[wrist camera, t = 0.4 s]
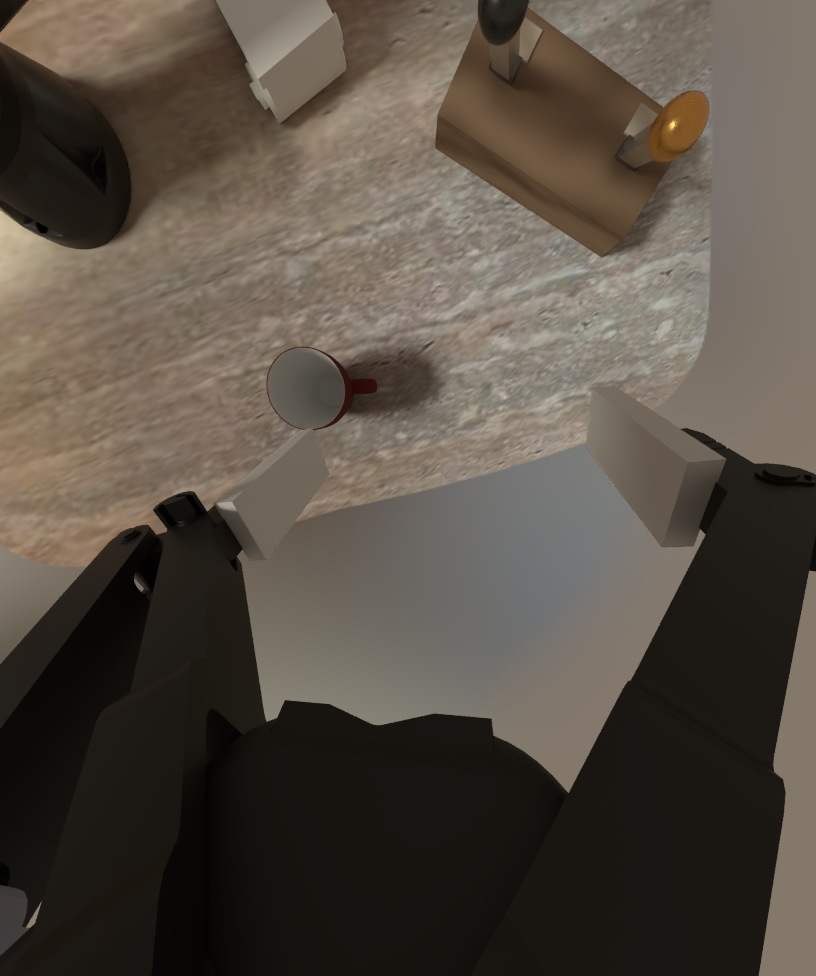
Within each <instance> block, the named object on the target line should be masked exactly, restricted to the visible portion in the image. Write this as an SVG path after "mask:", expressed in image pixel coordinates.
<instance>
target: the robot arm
mask: <svg viewBox="0 0 816 976" xmlns="http://www.w3.org/2000/svg"><path fill="white" fill-rule="evenodd" d="M28 1H29V0H0V32H1V31H2V30H3V29H4V28H5V26H6V25H7V24H8V23H9V22H10V21H11V20H12V19H13V17H14V16H15V15H16V14H17V13H18V12H19V11H20V10H21V8H22V7H23V6H24V5H25V4H26V3H27V2H28ZM129 201H130V177H129V170H128V165H127V161H126V158H125V155H124V152H123V149H122V146H121V144H120V142H119V140H118V138H117V136H116V134H115V132H114V130H113V129H112V127H111V126H110V124H109V123H108V121H107V120H106V118H105V117H104V116H103V115H102V113H101V112H100V111H99V110H98V109H97V108H96V107H95V106H94V105H93V104H92V103H91V102H90V101H89V100H88V99H87V98H85V97H84V96H83V95H82V94H81V93H80V92H79V91H78V90H77V89H76V88H75V87H73V86H72V85H71V84H70V83H69V82H68V81H66V80H65V79H63V78H62V77H61V76H59V75H58V74H56V73H55V72H53V71H52V70H50V69H48V68H46V67H44V66H43V65H41V64H39V63H37V62H36V61H34V60H32V59H30V58H28V57H27V56H25V55H23V54H21V53H19V52H18V51H16V50H14V49H12V48H10V47H9V46H7V45H5V44H3V43H1V42H0V210H1V211H2V212H4V213H5V214H6V215H8V216H9V217H10V218H12V219H13V220H14V221H16V222H17V223H18V224H20V225H21V226H23V227H24V228H26V229H28V230H29V231H31V232H33V233H35V234H37V235H39V236H41V237H43V238H46V239H48V240H50V241H52V242H55V243H57V244H59V245H62V246H65V247H69V248H75V249H87V248H93V247H96V246H99V245H101V244H103V243H105V242H106V241H108V240H109V239H111V238H112V237H113V236H114V235H115V234H116V232H117V231H118V230H119V228H120V227H121V225H122V223H123V221H124V219H125V217H126V214H127V211H128V207H129ZM586 449H587V450H588V451H589V453H590V454H591V455H592V457H593V458H594V459H595V460H596V462H597V463H598V464H599V466H600V467H601V468H602V470H603V471H604V472H605V473H606V475H607V476H608V478H609V479H610V480H611V481H612V483H613V484H614V485H615V487H616V488H617V489H618V491H619V492H620V493H621V495H622V496H623V497H624V498H625V500H626V501H627V502H628V504H629V505H630V506H631V508H632V509H633V510H634V512H635V513H636V514H637V515H638V517H639V518H640V519H641V520H642V522H643V523H644V525H645V526H646V527H647V528H648V530H649V531H650V532H651V534H652V535H653V536H654V538H655V539H656V540H657V542H658V543H659V544H660V546H661V547H685V546H694V544H695V541H696V538H697V536H698V533H699V530H700V529H701V530H702V531H703V532H704V533H705V534H706V535H705V538H704V539H703V541H702V543H701V545H700V547H699V549H698V551H697V553H696V555H695V557H694V559H693V561H692V563H691V565H690V567H689V568H688V571H687V572H686V574H685V576H684V578H683V580H682V582H681V584H680V586H679V588H678V590H677V592H676V594H675V596H674V598H673V600H672V602H671V604H670V606H669V608H668V610H667V611H666V613H665V615H664V617H663V619H662V621H661V623H660V625H659V627H658V629H657V631H656V633H655V635H654V637H653V639H652V641H651V643H650V645H649V647H648V649H647V651H646V652H645V655H644V657H643V658H642V660H641V662H640V664H639V666H638V668H637V670H636V672H635V674H634V676H633V678H632V679H631V681H628V682H627V684H626V685H625V687H624V688H623V690H622V692H621V694H620V696H619V698H618V699H617V701H616V703H615V705H614V707H613V709H612V711H611V713H610V715H609V717H608V718H607V720H606V722H605V724H604V726H603V728H602V730H601V732H600V734H599V736H598V738H597V740H596V742H595V744H594V745H593V748H592V749H591V751H590V753H589V756H588V757H587V759H586V761H585V763H584V765H583V767H582V769H581V771H580V773H579V774H578V776H577V778H576V780H575V782H574V784H573V786H572V788H571V790H570V792H569V793H568V792H567V791H566V790H565V789H564V788H563V787H562V786H561V784H560V783H559V782H558V781H557V780H556V779H555V778H554V777H553V776H552V775H551V774H550V773H549V772H548V771H547V770H546V769H545V768H544V767H543V766H542V765H540V763H538V762H537V761H536V760H535V759H533V758H532V757H530V756H529V755H528V754H526V753H525V752H524V751H522V750H520V749H519V748H517V747H515V746H514V745H512V744H510V743H509V742H507V741H504V740H502V739H500V738H497V737H495V736H493V727H492V719H488V718H477V717H466V716H455V715H443V714H430V715H426V716H421V717H417V718H412V719H407V720H403V721H399V722H394V723H389V724H384V725H373V724H370V723H368V722H366V721H364V720H362V719H360V718H358V717H355V716H353V715H351V714H349V713H347V712H345V711H343V710H341V709H338V708H336V707H334V706H332V705H330V704H321V703H310V702H298V701H287V700H285V702H284V704H283V706H282V708H281V711H280V713H279V715H278V717H277V718H276V719H273V720H271V721H268V722H266V719H265V715H264V709H263V703H262V696H261V690H260V683H259V676H258V670H257V663H256V657H255V651H254V644H253V637H252V631H251V624H250V617H249V611H248V604H247V598H246V591H245V585H244V578H243V571H242V565H241V562H240V561H239V559H238V558H237V555H238V554H239V553H240V552H241V550H242V549H243V550H244V552H245V554H246V555H247V557H248V559H249V560H250V561H256V560H267V559H268V558H269V556H270V555H271V553H272V552H273V551H274V549H275V548H276V547H277V545H278V544H279V543H280V541H281V540H282V538H283V537H284V536H285V534H286V533H287V532H288V530H289V528H290V527H291V526H292V525H293V523H294V522H295V521H296V519H297V518H298V517H299V515H300V514H301V512H302V511H303V510H304V508H305V507H306V506H307V504H308V503H309V501H310V500H311V499H312V497H313V496H314V495H315V493H316V492H317V491H318V489H319V488H320V486H321V485H322V484H323V482H324V481H325V480H326V478H327V477H328V475H329V471H328V469H327V466H326V463H325V461H324V458H323V455H322V453H321V450H320V447H319V445H318V442H317V439H316V437H315V434H314V432H313V429H312V428H311V429H304V430H299V431H298V432H297V433H295V434H294V435H293V436H292V437H291V438H290V439H288V440H287V441H286V442H285V443H284V444H283V445H281V446H280V447H279V448H278V449H277V450H275V451H274V452H273V453H272V454H271V455H270V456H268V457H267V458H266V459H265V460H264V461H263V462H261V463H260V464H259V465H258V466H257V467H256V468H254V469H253V470H252V471H251V472H250V473H249V474H247V475H246V476H245V477H244V478H243V479H241V480H240V481H239V482H238V483H237V484H236V485H234V486H233V487H232V488H231V489H230V490H229V491H227V492H226V493H225V494H224V495H223V496H222V497H220V498H219V499H218V500H217V501H216V502H215V503H213V504H214V506H213V507H212V508H211V509H210V510H209V511H206V509H205V508H204V506H203V505H202V503H201V502H200V500H199V499H198V497H197V495H196V494H195V492H192V491H188V492H183V493H180V494H177V495H174V496H172V497H170V498H168V499H166V500H164V501H162V502H161V503H159V504H158V505H157V506H156V507H155V508H154V509H153V511H154V512H155V513H156V515H157V516H158V517H159V519H160V520H161V521H162V522H163V524H164V525H165V526H166V528H167V532H165V533H161V534H158V535H156V534H155V532H154V531H153V530H152V529H151V528H150V526H149V525H141V526H137V527H134V528H129V529H127V530H125V531H123V532H121V533H120V534H119V535H118V536H117V537H115V538H114V539H112V540H111V541H110V542H109V543H108V544H107V545H106V546H105V547H104V549H103V550H102V551H101V552H100V553H99V554H98V555H97V556H96V558H95V559H94V560H93V561H92V562H91V563H90V564H89V565H88V567H87V568H86V569H85V570H84V571H83V572H82V573H81V574H80V576H79V577H78V578H77V579H76V580H75V581H74V582H73V583H72V584H71V586H70V587H69V588H68V589H67V590H66V591H65V592H64V593H63V595H62V596H61V597H60V598H59V599H58V600H57V601H56V603H55V604H54V605H53V606H52V607H51V608H50V609H49V610H48V611H47V613H46V614H45V615H44V616H43V617H42V618H41V619H40V620H39V622H38V623H37V624H36V625H35V626H34V627H33V628H32V629H31V630H30V632H29V633H28V634H27V635H26V636H25V637H24V638H23V639H22V641H21V642H20V643H19V644H18V645H17V646H16V647H15V648H14V650H13V651H12V652H11V653H10V654H9V655H8V656H7V657H6V659H5V660H4V661H3V662H2V663H1V664H0V976H759V970H760V964H761V957H762V951H763V944H764V938H765V931H766V925H767V918H768V912H769V906H770V899H771V893H772V886H773V880H774V874H775V867H776V861H777V854H778V847H779V841H780V835H781V829H782V822H783V816H784V805H785V788H784V782H783V779H782V778H781V777H779V776H778V775H777V774H776V773H775V772H774V768H773V760H774V753H775V748H776V742H777V737H778V731H779V726H780V721H781V716H782V711H783V705H784V699H785V695H786V689H787V684H788V679H789V674H790V668H791V663H792V657H793V652H794V647H795V642H796V636H797V631H798V626H799V620H800V615H801V610H802V604H803V600H804V594H805V589H806V584H807V578H808V573H809V570H810V571H816V475H815V474H813V473H811V472H808V471H805V470H803V469H800V468H796V467H791V466H786V465H779V464H768V463H766V464H754V463H752V462H751V461H749V460H747V459H746V458H744V457H742V456H740V455H739V454H737V453H736V452H734V451H732V450H731V449H729V448H728V449H726V446H724V445H722V444H721V443H719V442H716V440H714V439H712V438H711V437H709V436H707V435H706V434H704V433H700V432H697V431H694V430H691V429H687V428H685V429H679V428H678V427H676V426H675V425H673V424H672V423H670V422H668V421H667V420H665V419H664V418H662V417H661V416H659V415H658V414H656V413H655V412H653V411H652V410H650V409H649V408H647V407H645V406H644V405H642V404H641V403H639V402H638V401H636V400H635V399H633V398H632V397H630V396H629V395H627V394H625V393H624V392H622V391H621V390H619V389H618V388H616V387H615V386H613V385H612V386H605V387H598V388H592V397H591V406H590V414H589V423H588V432H587V441H586ZM134 578H135V579H136V580H137V581H138V582H139V584H140V585H141V586H142V587H143V588H144V590H143V591H142V592H141V591H140V590H139V589H138V588H137V587H136V585H135V583H134ZM41 901H42V902H41ZM40 903H41V906H40V910H39V913H38V916H37V919H36V923H35V924H34V925H33V926H32V927H31V928H26V926H27V924H28V923H29V921H30V919H31V918H32V916H33V914H34V913H35V911H36V909H37V908H38V906H39V904H40Z"/></svg>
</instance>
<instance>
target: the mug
mask: <svg viewBox="0 0 816 976" xmlns="http://www.w3.org/2000/svg"><path fill="white" fill-rule="evenodd" d="M376 391H377V383H376V381H375V380H374V379H350V378H349V376H348V374H347V373H346V371H345V370H344V368H343V367H342V366H341V365H340V363H339V362H338V361H336V360H335V359H334V358H333V357H331V356H330V355H328V354H326V353H324V352H322V351H320V350H317V349H315V348H311V347H295V348H291V349H289V350H286V351H285V352H283V353H282V354H280V355H279V356H278V357H277V358H276V359H275V361H274V362H273V363H272V365H271V367H270V369H269V372H268V376H267V393H268V397H269V400H270V403H271V405H272V407H273V409H274V410H275V412H276V413H277V414H278V415H279V417H280V418H281V419H283V420H284V421H285V422H286V423H288V424H290V425H291V426H294V427H296V428H299V429H303V430H304V429H311V428H312V429H313V430H317V429H322V428H326V427H329V426H331V425H333V424H335V423H336V422H338V421H339V420H340V419H341V418H342V417H343V416H344V415H345V413H346V412H347V410H348V408H349V407H350V404H351V402H352V398H353V395H354V394H369V393H375V392H376Z"/></svg>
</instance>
